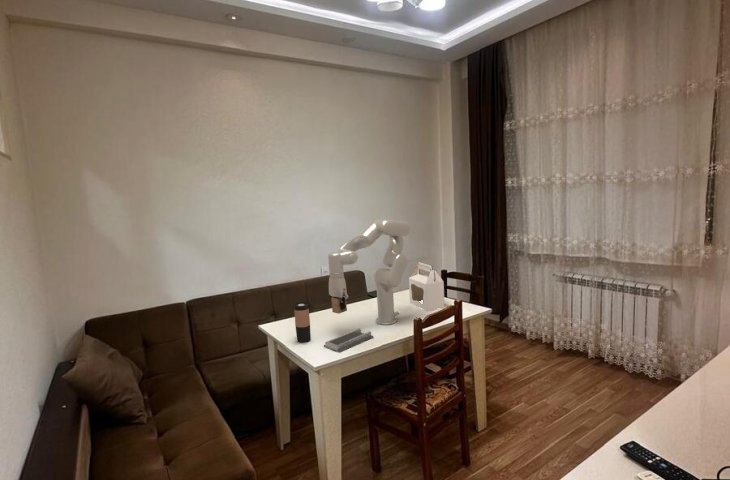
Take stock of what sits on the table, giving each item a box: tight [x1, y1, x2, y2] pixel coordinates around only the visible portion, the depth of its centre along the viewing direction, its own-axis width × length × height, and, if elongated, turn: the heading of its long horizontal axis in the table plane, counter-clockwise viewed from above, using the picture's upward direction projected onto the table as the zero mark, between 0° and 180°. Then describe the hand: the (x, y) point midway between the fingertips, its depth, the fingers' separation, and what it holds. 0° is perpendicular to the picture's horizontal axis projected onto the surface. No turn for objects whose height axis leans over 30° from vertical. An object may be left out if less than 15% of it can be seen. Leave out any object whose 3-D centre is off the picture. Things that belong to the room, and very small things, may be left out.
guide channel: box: [323, 328, 374, 354], centre depth 200 cm, size 24×12×3 cm, turn 136°
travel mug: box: [293, 301, 312, 344], centre depth 204 cm, size 8×8×20 cm
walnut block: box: [330, 297, 348, 315], centre depth 210 cm, size 6×5×8 cm
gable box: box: [408, 261, 445, 312], centre depth 253 cm, size 22×13×28 cm, turn 22°
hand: (339, 307), depth 210 cm, fingers closed on walnut block, 5 cm apart
